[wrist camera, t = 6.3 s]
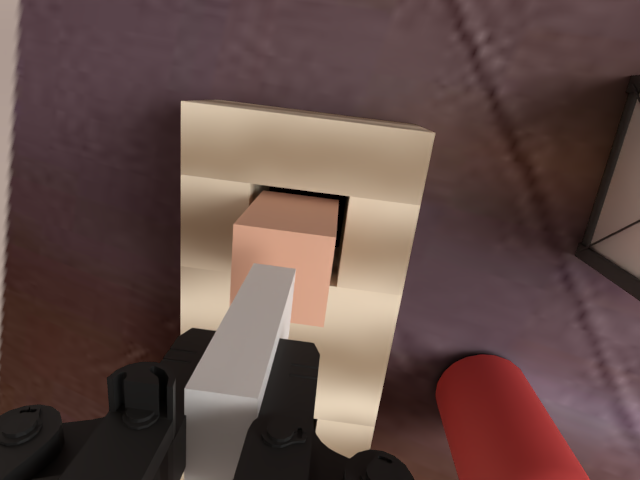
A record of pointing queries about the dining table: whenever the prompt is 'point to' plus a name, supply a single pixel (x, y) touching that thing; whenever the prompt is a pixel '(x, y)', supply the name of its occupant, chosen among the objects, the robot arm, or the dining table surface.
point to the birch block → (349, 259)
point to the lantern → (618, 205)
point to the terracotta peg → (289, 247)
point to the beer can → (500, 424)
